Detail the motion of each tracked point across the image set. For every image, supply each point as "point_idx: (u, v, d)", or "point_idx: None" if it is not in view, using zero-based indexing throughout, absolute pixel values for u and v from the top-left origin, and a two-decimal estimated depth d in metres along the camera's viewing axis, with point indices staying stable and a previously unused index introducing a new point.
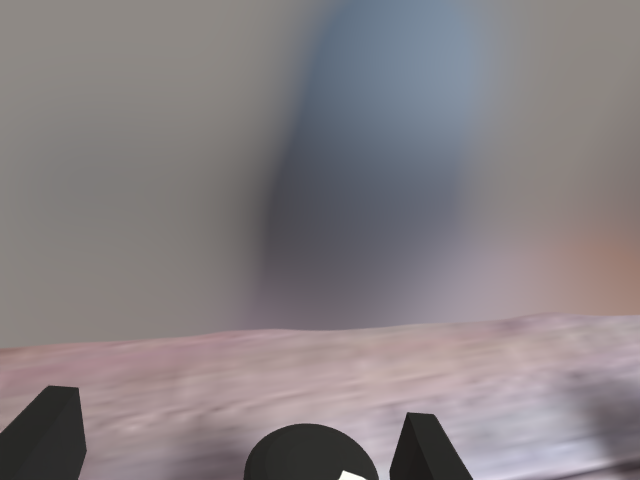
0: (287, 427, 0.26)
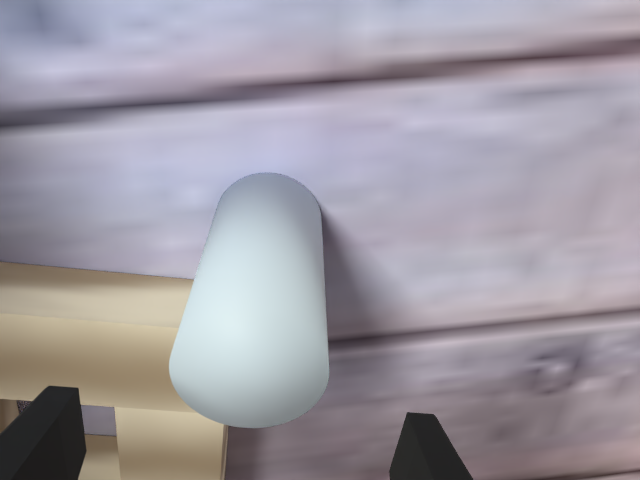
0: None
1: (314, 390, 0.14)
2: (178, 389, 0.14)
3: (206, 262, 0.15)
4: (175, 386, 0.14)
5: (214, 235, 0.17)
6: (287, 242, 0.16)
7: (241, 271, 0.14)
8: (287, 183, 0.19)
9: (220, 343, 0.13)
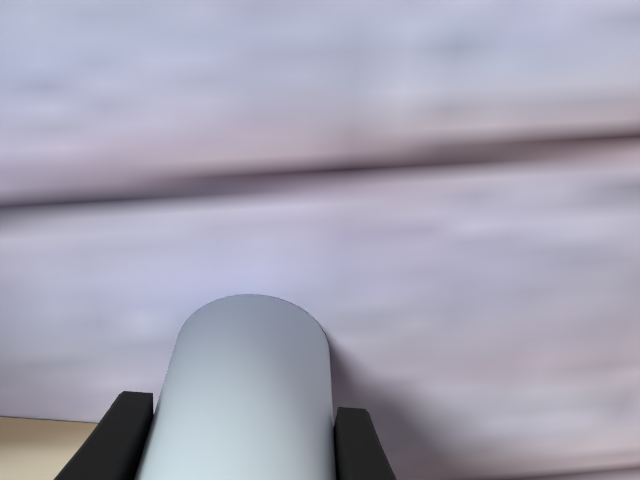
0: None
1: None
2: None
3: None
4: None
5: (160, 428, 0.10)
6: (277, 462, 0.09)
7: None
8: (280, 313, 0.13)
9: None
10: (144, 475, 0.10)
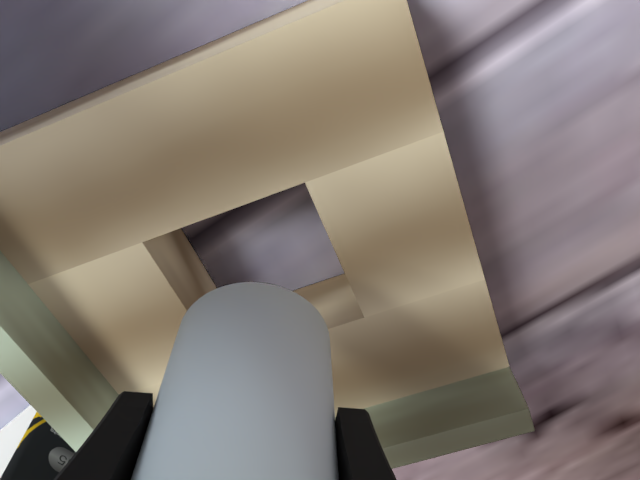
0: None
1: None
2: None
3: (148, 473, 0.09)
4: None
5: (168, 404, 0.10)
6: (286, 440, 0.09)
7: None
8: (287, 302, 0.13)
9: None
10: (152, 448, 0.10)
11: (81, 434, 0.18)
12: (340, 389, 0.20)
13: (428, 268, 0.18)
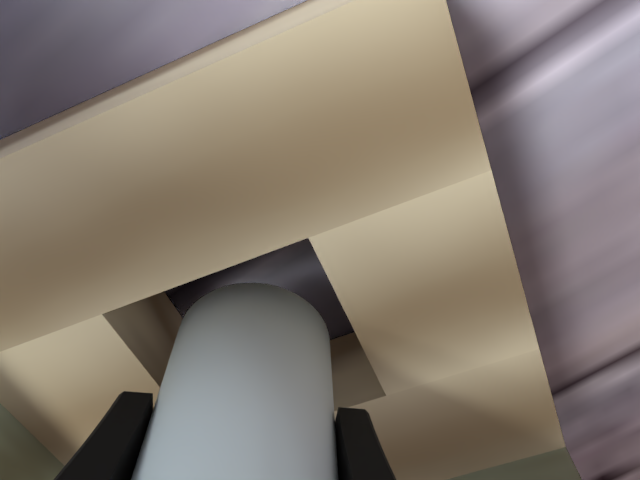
0: None
1: None
2: None
3: (148, 474, 0.09)
4: None
5: (168, 405, 0.10)
6: (286, 441, 0.09)
7: None
8: (286, 303, 0.13)
9: None
10: (152, 449, 0.10)
11: None
12: None
13: (467, 337, 0.14)
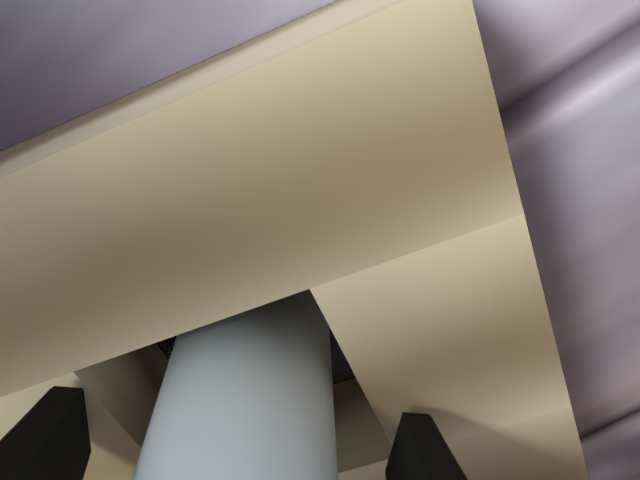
0: None
1: None
2: None
3: (158, 441, 0.10)
4: None
5: (176, 379, 0.11)
6: (287, 412, 0.10)
7: None
8: None
9: None
10: (162, 419, 0.10)
11: None
12: None
13: (490, 395, 0.12)
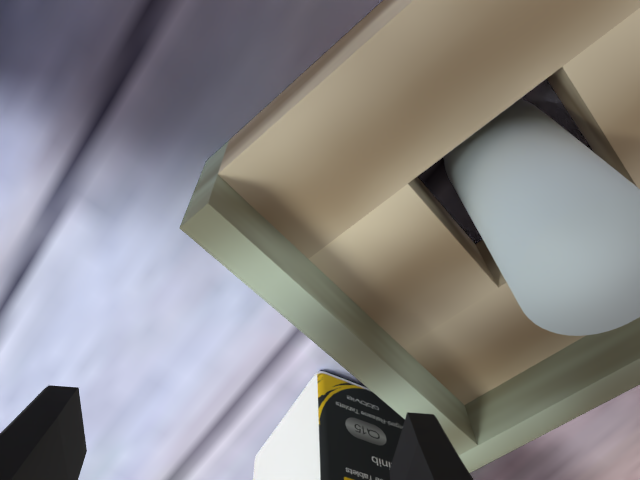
0: None
1: None
2: (523, 304, 0.13)
3: (497, 183, 0.15)
4: (520, 302, 0.13)
5: (482, 161, 0.16)
6: (575, 144, 0.15)
7: (558, 174, 0.13)
8: (521, 102, 0.18)
9: (570, 243, 0.13)
10: (489, 177, 0.16)
11: (393, 386, 0.19)
12: None
13: None
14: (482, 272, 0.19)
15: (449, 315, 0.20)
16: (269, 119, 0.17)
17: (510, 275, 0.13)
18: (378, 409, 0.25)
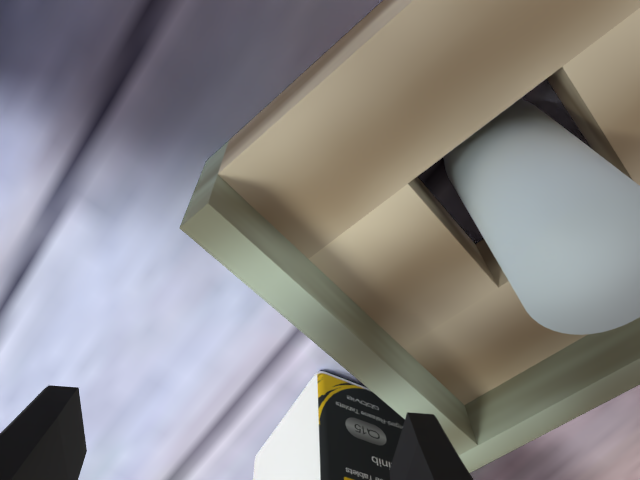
0: None
1: None
2: (526, 303, 0.13)
3: (498, 182, 0.15)
4: (522, 301, 0.13)
5: (483, 161, 0.16)
6: (575, 143, 0.15)
7: (560, 172, 0.13)
8: (520, 102, 0.18)
9: (573, 242, 0.13)
10: (490, 176, 0.16)
11: (393, 386, 0.19)
12: None
13: None
14: (482, 272, 0.19)
15: (449, 315, 0.20)
16: (269, 119, 0.17)
17: (513, 274, 0.13)
18: (378, 409, 0.25)
